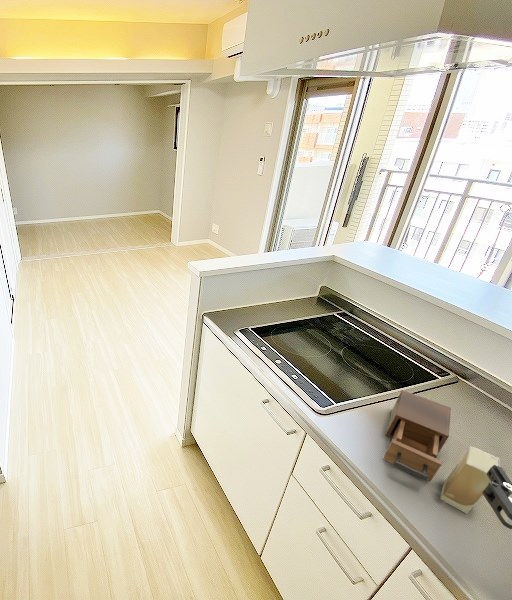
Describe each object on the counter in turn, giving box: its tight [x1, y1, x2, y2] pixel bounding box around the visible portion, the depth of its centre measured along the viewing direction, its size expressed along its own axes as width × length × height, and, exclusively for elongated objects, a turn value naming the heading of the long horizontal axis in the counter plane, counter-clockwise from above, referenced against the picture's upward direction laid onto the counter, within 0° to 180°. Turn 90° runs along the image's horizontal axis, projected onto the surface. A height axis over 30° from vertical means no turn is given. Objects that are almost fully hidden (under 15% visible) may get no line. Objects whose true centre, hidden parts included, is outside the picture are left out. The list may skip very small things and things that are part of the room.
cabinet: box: [385, 389, 452, 454], centre depth 83 cm, size 12×10×8 cm
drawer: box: [382, 420, 443, 482], centre depth 75 cm, size 15×8×6 cm, turn 136°
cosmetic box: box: [439, 445, 501, 515], centre depth 67 cm, size 6×4×12 cm
